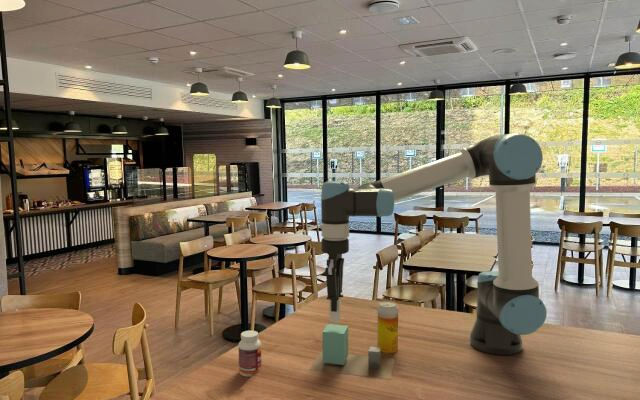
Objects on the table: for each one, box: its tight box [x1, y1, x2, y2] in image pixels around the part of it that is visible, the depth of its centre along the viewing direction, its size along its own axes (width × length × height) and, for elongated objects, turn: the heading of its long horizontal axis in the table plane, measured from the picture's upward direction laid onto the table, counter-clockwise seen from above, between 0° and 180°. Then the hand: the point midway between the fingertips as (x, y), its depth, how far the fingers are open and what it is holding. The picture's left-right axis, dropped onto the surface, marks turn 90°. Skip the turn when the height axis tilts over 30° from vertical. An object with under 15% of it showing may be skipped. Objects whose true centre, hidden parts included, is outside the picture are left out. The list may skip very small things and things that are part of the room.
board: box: [309, 350, 396, 380], centre depth 131 cm, size 22×12×1 cm, turn 75°
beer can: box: [376, 300, 399, 354], centre depth 140 cm, size 6×6×15 cm
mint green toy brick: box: [321, 323, 349, 365], centre depth 132 cm, size 6×6×9 cm
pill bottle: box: [238, 330, 262, 378], centre depth 129 cm, size 6×6×11 cm
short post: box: [367, 346, 382, 370], centre depth 129 cm, size 3×3×5 cm
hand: (335, 321), depth 131 cm, fingers closed
